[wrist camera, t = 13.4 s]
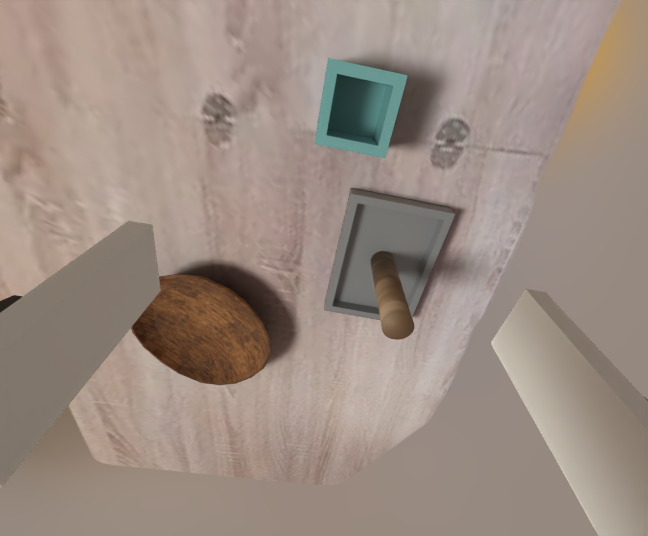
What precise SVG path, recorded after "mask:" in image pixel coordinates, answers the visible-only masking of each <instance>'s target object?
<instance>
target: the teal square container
mask: <svg viewBox="0 0 648 536" xmlns="http://www.w3.org/2000/svg"><path fill="white" fill-rule="evenodd" d="M407 77H408V75H404V74H399V73H395V72H390V71H386V70H381V69H376V68H372V67H367V66H363V65H358V64H353V63H349V62H344V61H340V60H335V59H330V58H328V62H327V68H326V75H325V81H324V87H323V94H322V100H321V106H320V113H319V119H318V125H317V131H316V138H315V144H317V145H322V146H327V147H332V148H337V149H342V150H347V151H352V152H357V153H362V154H367V155H371V156H376V157H381V158H385V157H386V154H387V150H388V146H389V143H390V139H391V135H392V132H393V128H394V124H395V121H396V117H397V113H398V110H399V106H400V102H401V99H402V95H403V91H404V88H405V84H406V80H407Z"/></svg>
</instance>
